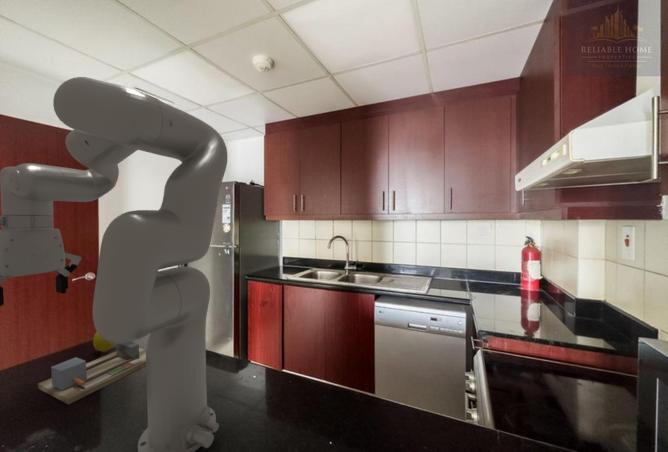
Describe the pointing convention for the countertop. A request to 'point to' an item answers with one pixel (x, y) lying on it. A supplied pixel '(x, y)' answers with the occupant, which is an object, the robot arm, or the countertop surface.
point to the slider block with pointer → (69, 373)
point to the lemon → (101, 343)
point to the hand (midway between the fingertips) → (32, 298)
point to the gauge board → (101, 372)
